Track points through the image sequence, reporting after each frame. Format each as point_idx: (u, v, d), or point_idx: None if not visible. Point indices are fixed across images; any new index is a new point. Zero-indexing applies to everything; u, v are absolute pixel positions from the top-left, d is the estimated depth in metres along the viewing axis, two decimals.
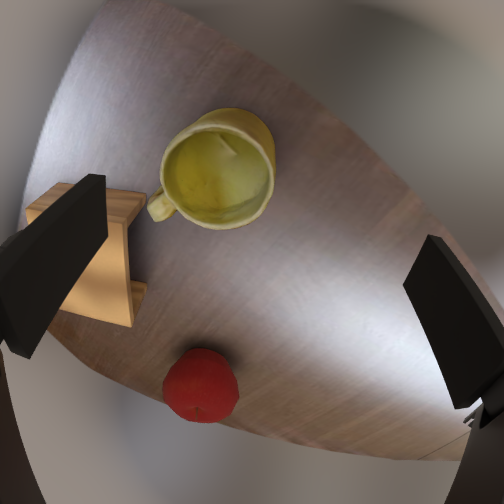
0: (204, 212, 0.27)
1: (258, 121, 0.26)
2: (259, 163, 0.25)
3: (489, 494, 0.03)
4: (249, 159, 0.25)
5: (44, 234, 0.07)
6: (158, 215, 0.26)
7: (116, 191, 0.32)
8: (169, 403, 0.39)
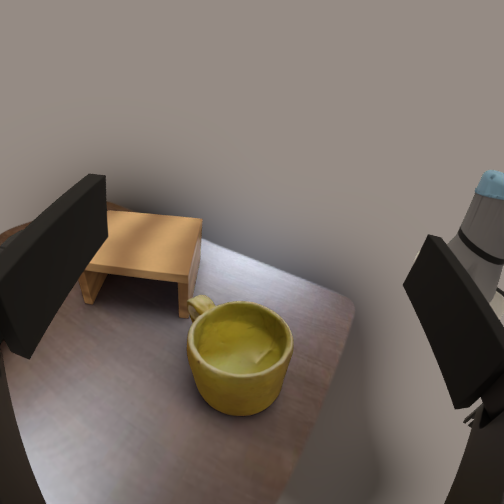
0: (199, 336, 0.28)
1: (279, 390, 0.28)
2: None
3: (489, 494, 0.03)
4: (253, 373, 0.26)
5: (44, 234, 0.07)
6: (197, 299, 0.30)
7: (192, 296, 0.40)
8: None
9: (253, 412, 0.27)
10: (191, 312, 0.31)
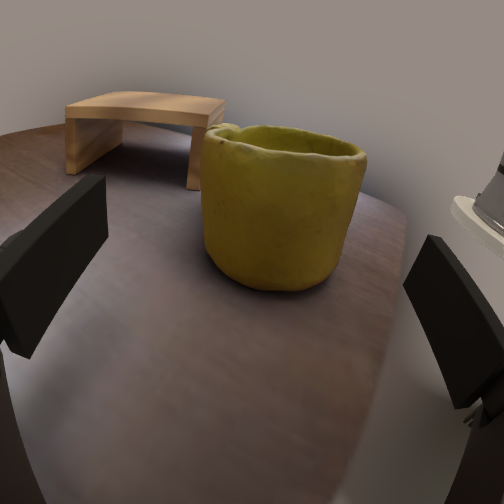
0: None
1: (340, 249, 0.18)
2: None
3: (489, 495, 0.03)
4: None
5: (44, 234, 0.07)
6: (221, 124, 0.21)
7: None
8: None
9: (300, 280, 0.17)
10: None
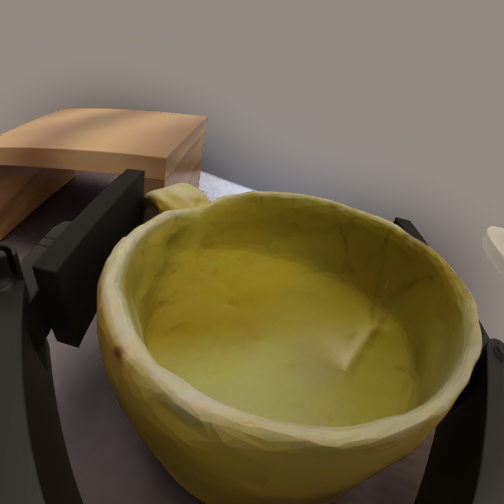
0: (155, 272, 0.08)
1: None
2: None
3: (462, 487, 0.04)
4: (344, 403, 0.07)
5: (97, 223, 0.08)
6: (168, 188, 0.11)
7: None
8: None
9: None
10: None
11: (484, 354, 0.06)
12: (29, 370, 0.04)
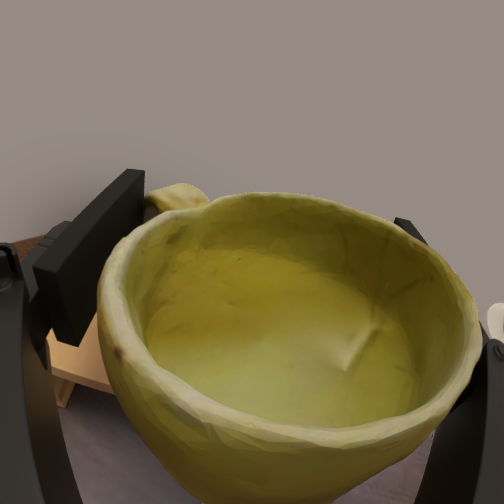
0: (155, 272, 0.08)
1: None
2: None
3: (462, 487, 0.04)
4: (344, 404, 0.07)
5: (97, 223, 0.08)
6: (168, 189, 0.11)
7: None
8: None
9: None
10: None
11: (484, 354, 0.06)
12: (29, 370, 0.04)
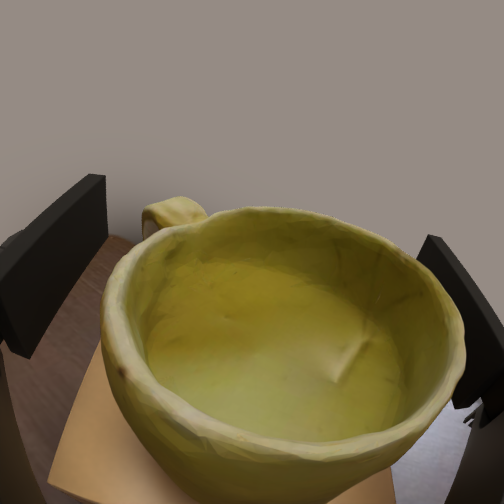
0: (154, 288, 0.09)
1: None
2: None
3: (490, 494, 0.03)
4: (333, 414, 0.07)
5: (44, 234, 0.07)
6: (166, 203, 0.11)
7: None
8: None
9: None
10: None
11: None
12: None
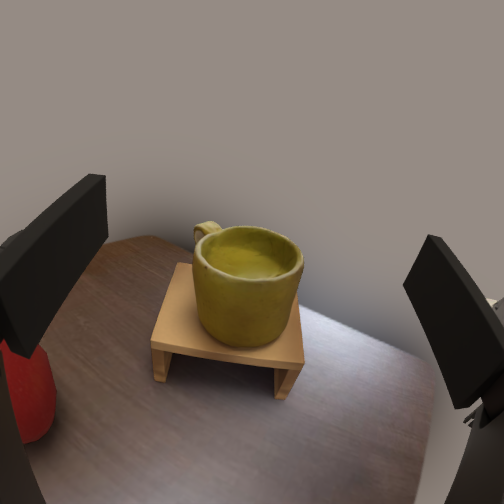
0: (205, 253, 0.27)
1: (286, 319, 0.27)
2: None
3: (489, 494, 0.03)
4: None
5: (44, 234, 0.07)
6: (205, 224, 0.30)
7: None
8: None
9: (258, 342, 0.26)
10: (198, 239, 0.31)
11: None
12: None
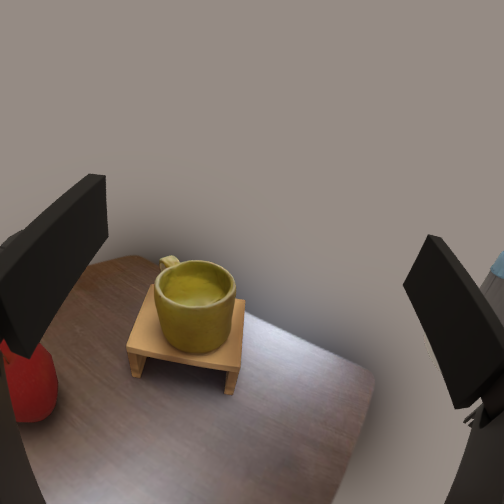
0: (164, 283, 0.36)
1: (225, 333, 0.36)
2: None
3: (489, 494, 0.03)
4: None
5: (44, 234, 0.07)
6: (167, 258, 0.39)
7: None
8: None
9: (203, 350, 0.35)
10: (162, 269, 0.40)
11: None
12: None
